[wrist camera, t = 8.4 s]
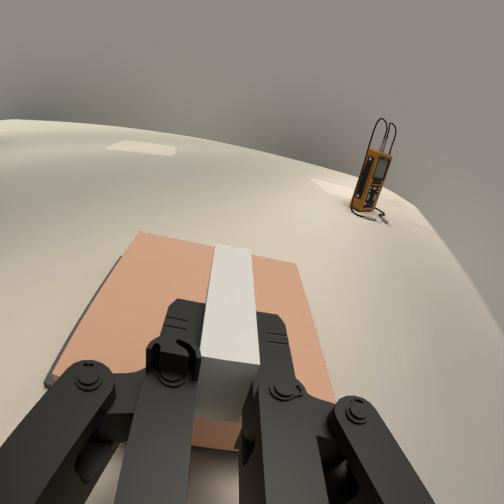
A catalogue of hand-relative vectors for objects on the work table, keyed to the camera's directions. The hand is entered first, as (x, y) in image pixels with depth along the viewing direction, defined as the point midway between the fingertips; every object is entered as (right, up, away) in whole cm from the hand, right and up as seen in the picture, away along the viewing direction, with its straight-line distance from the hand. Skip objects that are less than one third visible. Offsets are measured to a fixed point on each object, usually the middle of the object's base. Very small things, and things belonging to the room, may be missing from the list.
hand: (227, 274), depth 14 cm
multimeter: (+27, +8, +48) cm, 56 cm away
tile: (-1, -6, -2) cm, 7 cm away
